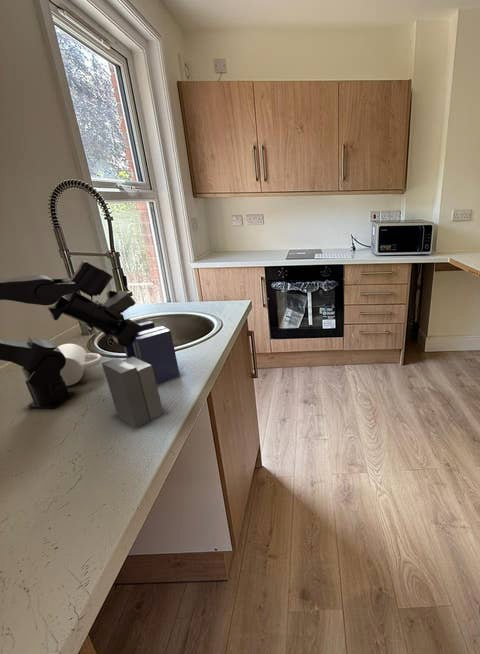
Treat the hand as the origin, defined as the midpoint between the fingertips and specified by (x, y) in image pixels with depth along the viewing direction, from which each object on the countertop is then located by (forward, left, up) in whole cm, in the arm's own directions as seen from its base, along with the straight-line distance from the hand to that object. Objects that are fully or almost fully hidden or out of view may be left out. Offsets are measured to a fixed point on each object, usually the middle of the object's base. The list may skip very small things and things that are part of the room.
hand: (144, 339), depth 95 cm
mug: (-16, -6, -8) cm, 19 cm away
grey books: (+10, -23, -8) cm, 26 cm away
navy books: (+6, -7, -8) cm, 12 cm away
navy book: (0, -2, -8) cm, 8 cm away
